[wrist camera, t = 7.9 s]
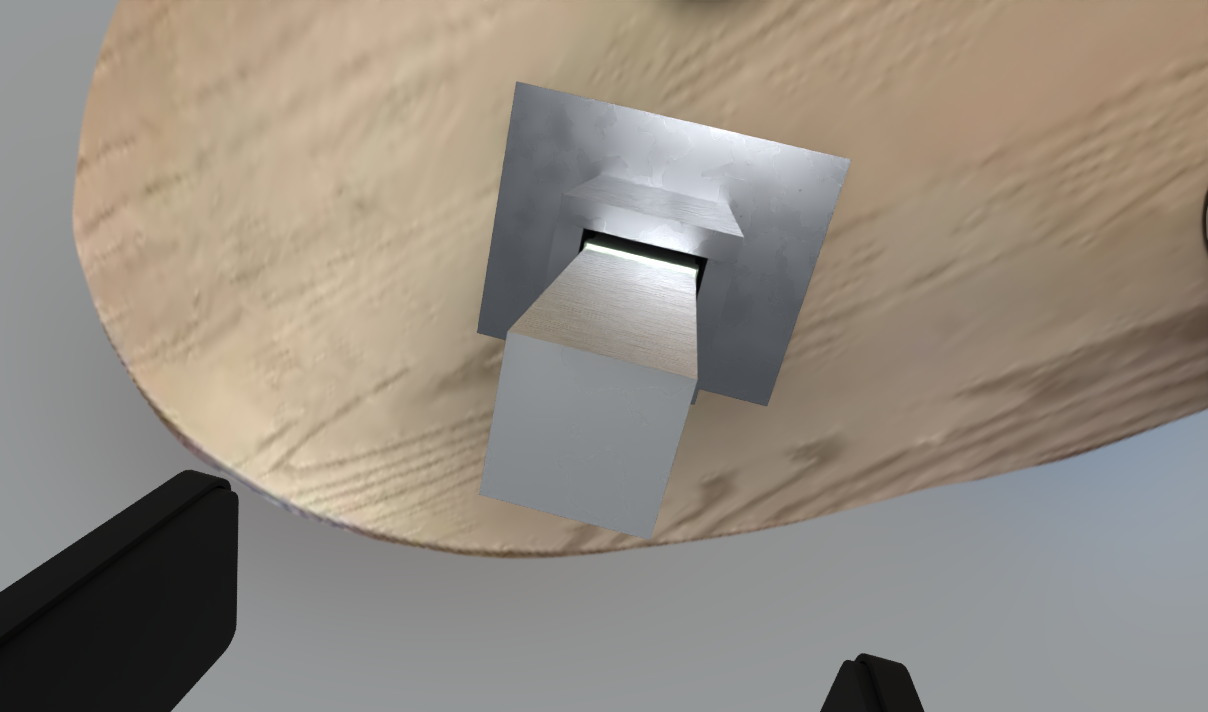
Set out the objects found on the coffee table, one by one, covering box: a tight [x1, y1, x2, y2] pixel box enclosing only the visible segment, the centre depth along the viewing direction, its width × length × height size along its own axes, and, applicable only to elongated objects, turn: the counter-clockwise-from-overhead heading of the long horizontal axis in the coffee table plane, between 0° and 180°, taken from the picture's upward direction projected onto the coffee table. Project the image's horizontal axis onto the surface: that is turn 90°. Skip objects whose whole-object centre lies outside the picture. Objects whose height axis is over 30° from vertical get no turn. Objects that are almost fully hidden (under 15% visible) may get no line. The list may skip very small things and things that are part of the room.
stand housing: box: [477, 82, 851, 406], centre depth 35 cm, size 20×16×14 cm
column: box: [479, 232, 698, 540], centre depth 25 cm, size 5×5×20 cm
